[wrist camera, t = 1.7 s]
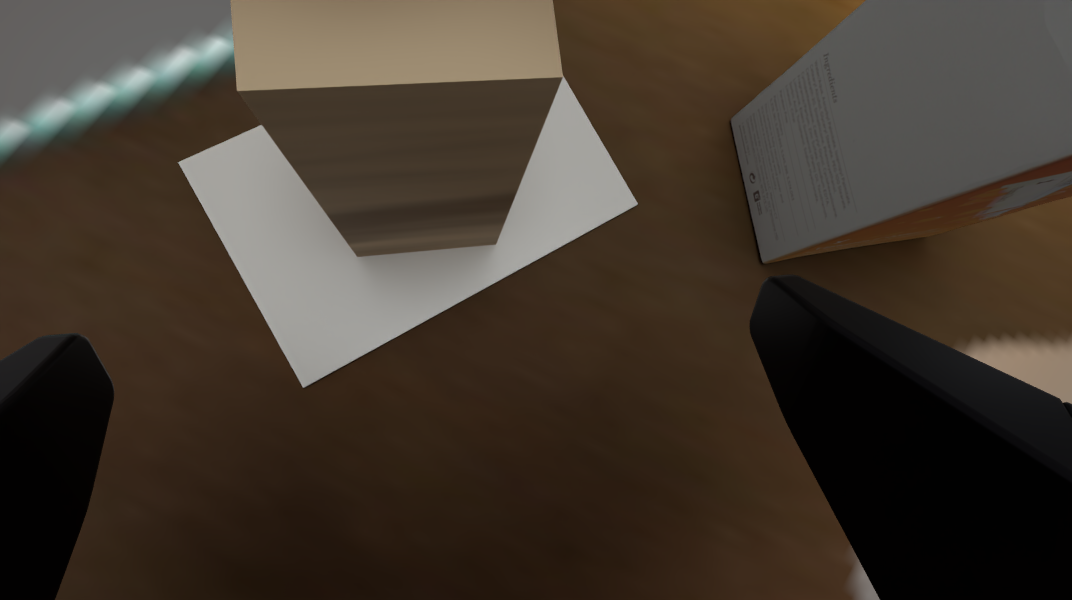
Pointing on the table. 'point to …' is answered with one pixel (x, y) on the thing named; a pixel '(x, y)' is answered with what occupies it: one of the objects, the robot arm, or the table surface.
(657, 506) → the table surface
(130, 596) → the table surface
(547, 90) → the oak block
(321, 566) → the table surface
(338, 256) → the tile
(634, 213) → the table surface
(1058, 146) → the small box
